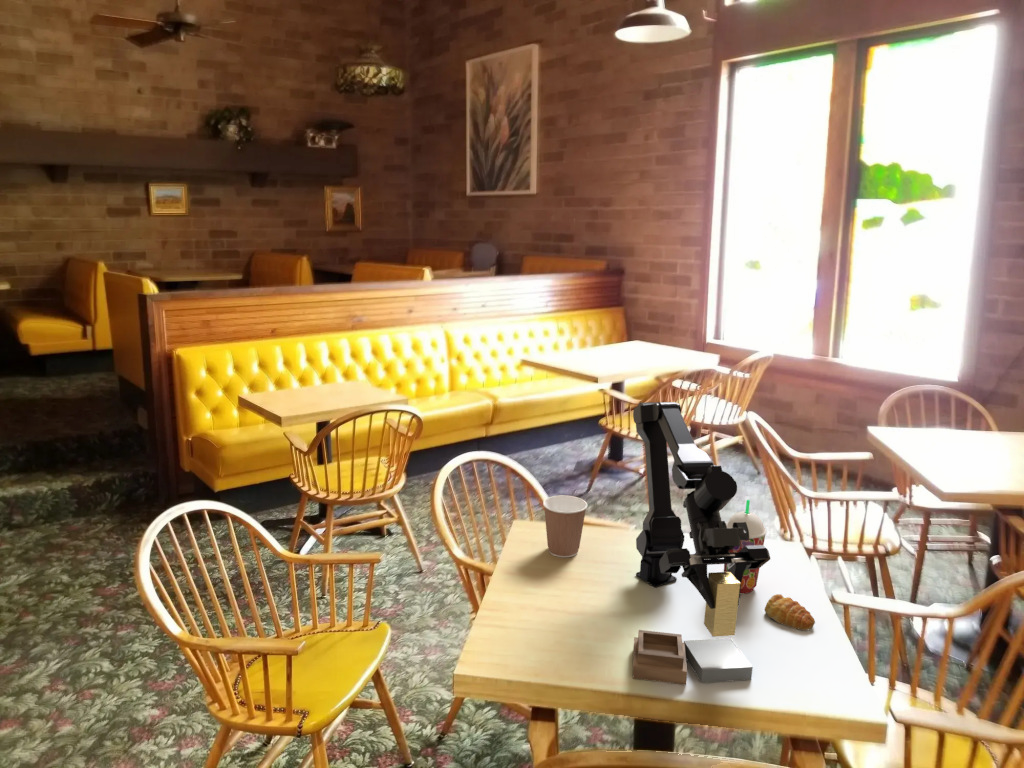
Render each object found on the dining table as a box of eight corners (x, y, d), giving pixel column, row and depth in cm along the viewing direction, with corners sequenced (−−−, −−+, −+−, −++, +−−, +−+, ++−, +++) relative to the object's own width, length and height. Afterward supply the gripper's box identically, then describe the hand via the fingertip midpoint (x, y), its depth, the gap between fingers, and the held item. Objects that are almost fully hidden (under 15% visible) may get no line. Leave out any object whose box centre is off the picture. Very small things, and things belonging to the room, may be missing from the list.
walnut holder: (633, 649, 139) (634, 627, 138) (683, 655, 138) (685, 632, 137) (632, 678, 131) (634, 655, 130) (686, 684, 129) (688, 661, 128)
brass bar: (703, 624, 135) (708, 572, 133) (725, 622, 136) (730, 571, 133) (712, 636, 131) (717, 584, 129) (734, 635, 132) (740, 582, 129)
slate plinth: (682, 653, 139) (683, 640, 138) (729, 650, 140) (730, 637, 139) (701, 683, 130) (702, 670, 129) (751, 679, 131) (752, 666, 131)
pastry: (821, 626, 149) (823, 608, 148) (801, 637, 145) (803, 619, 144) (780, 605, 156) (781, 588, 156) (760, 615, 153) (761, 598, 152)
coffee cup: (589, 545, 182) (591, 498, 179) (579, 564, 172) (582, 514, 169) (547, 539, 185) (549, 492, 182) (536, 556, 175) (537, 508, 172)
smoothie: (717, 592, 161) (725, 504, 156) (722, 575, 168) (730, 490, 164) (758, 600, 158) (767, 510, 153) (761, 582, 165) (770, 496, 161)
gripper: (669, 506, 131) (687, 597, 123) (771, 503, 133) (795, 591, 125) (651, 530, 140) (667, 615, 132) (747, 526, 143) (768, 609, 135)
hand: (724, 607), depth 131 cm, fingers closed on brass bar, 4 cm apart
